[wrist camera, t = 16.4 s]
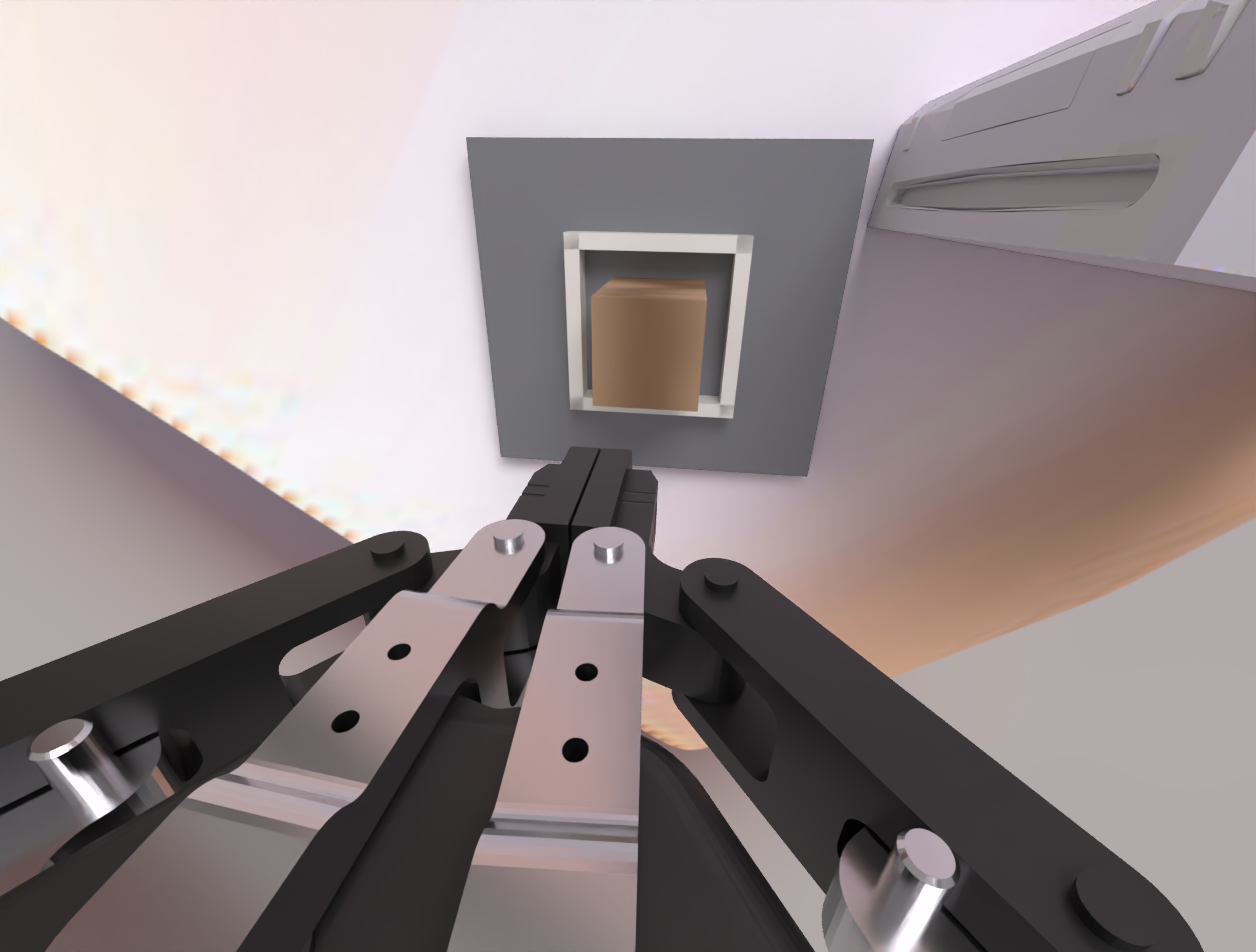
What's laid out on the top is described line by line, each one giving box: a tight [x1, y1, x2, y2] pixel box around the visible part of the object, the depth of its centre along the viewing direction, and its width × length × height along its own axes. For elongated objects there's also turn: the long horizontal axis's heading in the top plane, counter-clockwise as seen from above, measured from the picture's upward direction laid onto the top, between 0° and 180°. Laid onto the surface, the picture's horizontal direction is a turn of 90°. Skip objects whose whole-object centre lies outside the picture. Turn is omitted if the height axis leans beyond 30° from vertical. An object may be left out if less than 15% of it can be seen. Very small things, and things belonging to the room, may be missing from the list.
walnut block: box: [591, 277, 707, 412], centre depth 27 cm, size 5×5×7 cm
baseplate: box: [466, 137, 874, 477], centre depth 29 cm, size 20×18×3 cm
